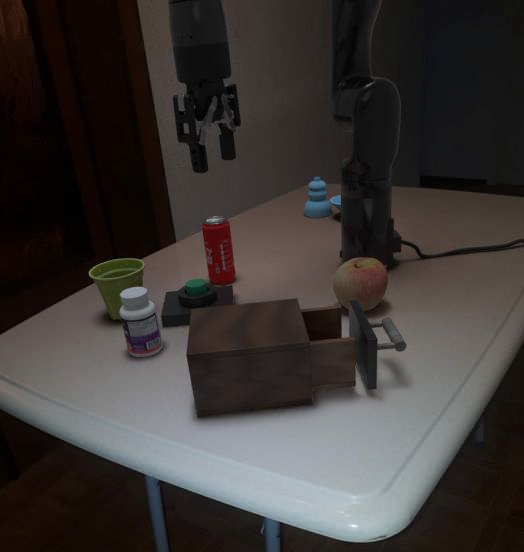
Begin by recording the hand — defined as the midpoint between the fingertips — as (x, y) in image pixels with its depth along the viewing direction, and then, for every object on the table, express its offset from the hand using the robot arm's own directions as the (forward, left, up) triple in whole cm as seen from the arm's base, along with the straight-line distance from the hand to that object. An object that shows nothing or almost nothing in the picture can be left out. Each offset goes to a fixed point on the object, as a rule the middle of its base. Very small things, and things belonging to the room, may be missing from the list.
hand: (215, 165), depth 82 cm
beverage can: (+2, -16, -25) cm, 29 cm away
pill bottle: (+14, +9, -25) cm, 30 cm away
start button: (+6, -3, -21) cm, 22 cm away
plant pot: (+19, -5, -25) cm, 31 cm away
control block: (+6, -3, -25) cm, 25 cm away
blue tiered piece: (-27, -51, -25) cm, 63 cm away
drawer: (-13, +22, -24) cm, 35 cm away
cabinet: (-2, +22, -25) cm, 33 cm away
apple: (-21, +2, -25) cm, 33 cm away
